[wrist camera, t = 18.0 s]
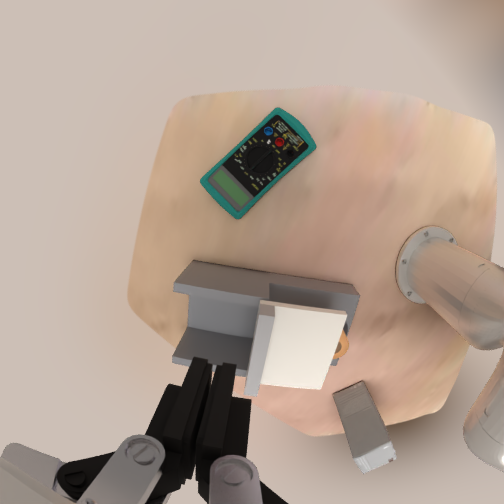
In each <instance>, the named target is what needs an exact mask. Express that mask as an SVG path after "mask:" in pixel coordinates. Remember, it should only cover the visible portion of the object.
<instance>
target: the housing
mask: <svg viewBox="0 0 504 504" xmlns="http://www.w3.org/2000/svg"><path fill="white" fill-rule="evenodd" d="M173 292H177V293H182V294H188V295H189V309H188V327H187V329H186V331H185V333H184V335H183V337H182V338H181V340H180V342H179V344H178V346H177V348H176V350H175V352H174V354H173V356H172V357H173V359H172V362H173V363H175V364H180V365H185V366H189V367H190V364H191V362H192V359H193V357H199V358H204V359H208V363H211V364H213V368H212V371H213V372H215V369H216V366H217V365H222V364H223V362H225V363H231V364H237V367H236V374H235V375H236V376H242V377H246V375H247V369H248V364H249V359H250V353H251V348H252V343H253V337H254V332H255V326H256V321H257V315H258V309H259V304H260V300H266V301H272V302H279V303H286V304H293V305H300V306H308V307H315V308H323V309H331V310H340V311H345V312H346V313H347V318H346V321H345V324H344V327H343V330H342V333H341V336H340V339H339V342H338V345H337V348H336V350H335V353H334V356H333V359H332V361H331V364H330V365H333V366H336V365H337V362H338V360H339V357H341V356H343V355H344V354H345V353H346V352H347V350H348V347H349V342H348V339H347V335H348V332H349V329H350V326H351V323H352V320H353V317H354V314H355V311H356V308H357V304H358V301H359V298H360V295H359V293H358V292H357V291H356V289H355V288H354V286H353V285H351V284H344V283H337V282H330V281H323V280H316V279H309V278H303V277H296V276H289V275H283V274H276V273H270V272H264V271H257V270H251V269H245V268H238V267H232V266H226V265H220V264H214V263H208V262H202V261H196V260H193V261H192V262H191V263H190V264H189V265H188V267H187V268H186V269H185V270H184V271H183V272H182V273H181V275H180V276H179V277H178V278H177V279H176V280H175V282H174V290H173Z"/></svg>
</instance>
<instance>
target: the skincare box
mask: <svg viewBox="0 0 504 504" xmlns="http://www.w3.org/2000/svg"><path fill="white" fill-rule="evenodd" d="M333 397H334V400H335V403H336V406H337V409H338V412H339V415H340V418H341V421H342V424H343V427H344V430H345V434H346V437H347V440H348V443H349V446H350V450H351V453H352V456H353V459H354V461H355V463H356V464H357V466H358V468H359V469H360V470H361V472H362V473H363V474H364V473H366V472H369V471H371V470H373V469H375V468H378V467H380V466H382V465H384V464H387V463H389V462H391V461H393V460H395V459H396V458H397V457H396V454H395V452H396V451H395V450H394V448H393V445H392V442H391V439H390V437H389V434H388V431H387V429H386V426H385V424H384V422H383V420H382V418H381V416H380V414H379V412H378V410H377V408H376V405H375V403H374V401H373V399H372V397H371V395H370V393H369V391H368V389H367V387H366V385H365V383H364V382H363V381H361V382H359V383H357V384H355V385H353V386H351V387H349V388H347V389H344V390H342V391H340V392H337V393H334V394H333Z"/></svg>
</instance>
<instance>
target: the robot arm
mask: <svg viewBox="0 0 504 504" xmlns="http://www.w3.org/2000/svg"><path fill="white" fill-rule="evenodd" d="M402 260H403V261H402ZM396 280H397V284H398V286H399V289H400V291H401V292H402V293H403V295H404V296H405V297H406V298H408V299H409V300H410V301H412V302H415V303H420V304H424V303H427V304H428V305H430V306H431V307H432V308H433V309H434V310H435V311H436V312H437V313H438V314H439V315H440V316H441V317H442V318H443V319H444V320H445V321H446V322H447V323H449V324H450V325H451V326H452V327H453V328H454V329H455V330H456V331H457V332H458V333H459V334H460V335H461V336H462V337H463V338H464V339H465V340H466V341H467V342H468V343H469V344H470V345H472V346H473V347H475V348H477V349H480V350H494V349H497V348H501V347H504V268H503V267H500V266H498V265H496V264H494V263H492V262H490V261H488V260H486V259H484V258H482V257H480V256H478V255H476V254H474V253H472V252H470V251H468V250H466V249H464V248H462V247H459V246H458V244H457V242H456V240H455V238H454V237H453V235H452V234H451V233H450V232H449V231H447V230H446V229H443V228H441V227H437V226H428V227H424V228H422V229H420V230H418V231H416V232H415V233H414V234H412V235H411V236H410V238H409V239H408V240H407V241H406V242H405V244H404V245H403V247H402V249H401V251H400V253H399V256H398V260H397V264H396ZM236 367H237V364H231V363H225V362H223V364H222V365H217V366H216V369H215V373H214V377H213V380H212V384H211V379H212V368H213V364H211V363H208V359H204V358H199V357H193V359H192V362H191V364H190V367H189V369H188V372H187V374H186V377H185V379H184V382H183V384H182V387H181V386H177V385H173V384H168V386H167V387H166V389H165V391H164V394H163V396H162V398H161V400H160V402H159V405H158V407H157V409H156V411H155V414H154V416H153V418H152V420H151V422H150V424H149V427H148V429H147V431H146V433H145V435H133V436H131V437H128V438H127V439H126V440H124V441H123V442H122V444H121V445H120V446H119V448H118V449H117V450H116V451H115V452H112V453H108V454H104V455H100V456H95V457H91V458H87V459H82V460H77V461H72V462H68V463H65V462H62V461H61V460H60V459H58V458H55V457H52V456H49V455H47V454H44V453H41V452H39V451H36V450H33V449H31V448H28V447H26V446H24V445H21V444H18V443H11V444H9V445H7V446H6V447H5V449H4V451H3V454H2V456H1V457H0V504H166V503H167V501H168V500H169V497H170V496H171V493H172V492H174V491H176V490H179V489H180V488H181V484H185V481H186V479H192V476H193V471H194V467H195V464H196V481H198V493H199V494H200V496H201V497H202V498H203V499H204V500H205V501H206V502H207V504H288V503H287V502H285V501H284V500H283V499H281V498H280V497H279V496H278V495H277V494H276V493H274V492H273V491H272V490H271V489H269V488H268V487H267V486H266V485H265V484H263V483H262V482H261V481H260V480H259V474H258V470H257V467H256V466H255V465H254V464H253V462H251V461H250V460H248V459H247V458H246V453H247V444H248V433H249V423H250V412H251V399H245V398H238V397H232V392H233V386H234V380H235V374H236ZM463 435H464V440H465V442H466V444H467V446H468V448H469V449H470V450H471V452H472V453H473V454H474V455H475V456H477V457H478V458H479V459H480V460H482V461H483V462H485V463H487V464H489V465H490V466H492V467H494V468H496V469H498V470H500V471H502V472H504V349H503V353H502V356H501V358H500V360H499V362H498V364H497V367H496V369H495V371H494V372H493V374H492V376H491V377H490V379H489V381H488V382H487V384H486V386H485V387H484V389H483V390H482V392H481V393H480V395H479V397H478V398H477V400H476V401H475V403H474V404H473V406H472V408H471V409H470V411H469V413H468V414H467V417H466V419H465V422H464V426H463Z"/></svg>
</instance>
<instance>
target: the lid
mask: <svg viewBox="0 0 504 504" xmlns="http://www.w3.org/2000/svg"><path fill="white" fill-rule="evenodd" d="M346 318H347V313H346V312H345V311H340V310H331V309H323V308H315V307H308V306H300V305H293V304H286V303H279V302H272V301H266V300H260V304H259V309H258V315H257V321H256V326H255V332H254V337H253V343H252V348H251V353H250V359H249V364H248V369H247V375H246V382H245V390H244V395H249V396H256V397H257V394H258V390H259V386H260V384H265V385H273V386H283V387H293V388H305V389H320V390H321V387H322V385H323V382H324V380H325V377H326V375H327V372H328V369H329V367H330V364H331V361H332V359H333V356H334V353H335V350H336V348H337V345H338V342H339V339H340V336H341V333H342V330H343V327H344V324H345V321H346Z"/></svg>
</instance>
